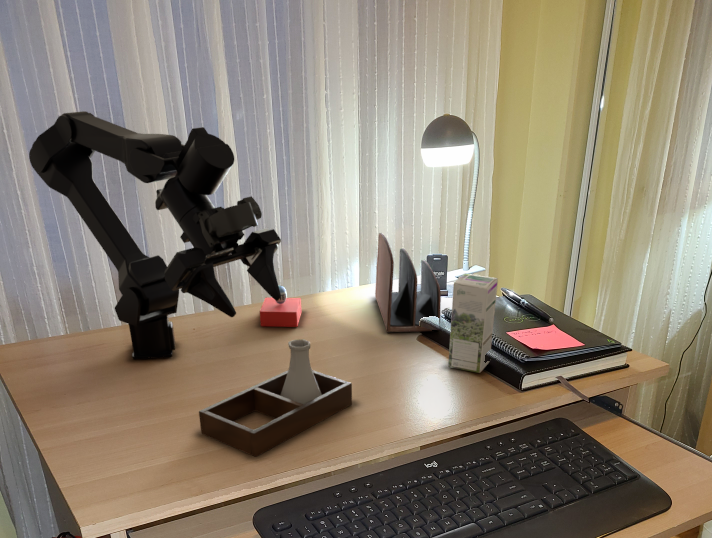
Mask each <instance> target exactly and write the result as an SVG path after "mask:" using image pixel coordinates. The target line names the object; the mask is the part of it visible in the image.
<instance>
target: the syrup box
mask: <svg viewBox="0 0 712 538" xmlns="http://www.w3.org/2000/svg"><path fill="white" fill-rule="evenodd" d="M498 283H499V278H497V277H492V276H485V275H479V274H473V273H472V274H471V273H463V274H461V275H460V276H459V277H458V278H457V279H455V281H454V282H453V288H452V301H451V303H452V304H451V320H450V333H449V334H450V335H449V350H448V364H447V365H448V366H447V367H448V368H451V369H457V370H462V371H466V372H472V373H477V374H481V372H482V371H484V369H485V368H486V367H487V365H489V363H490V361H487V362H486V363H485V362H484V361H485V355H486V353H487V352H488V351H489V350H490V349H491V350H492V341H493V330H494V320H495V311H496V302H497V293H498Z"/></svg>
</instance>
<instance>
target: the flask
mask: <svg viewBox="0 0 712 538" xmlns="http://www.w3.org/2000/svg"><path fill="white" fill-rule="evenodd" d="M287 343H288V344H287V345H288V348H289V350H290V359H289V368H288V369H287V370H288V373H287V377H286V380H285V383H284V386H283V389H282V392H281V395H280V396H282V397H285V398H288V399H290V400H293V401H296V402H299V403H301V404H306V403H308V402H309V401H311V400H313V399H315V398H317V397H319V396H321V395H322V393H321V391H320V389H319V386H318V384H317V382H316V379H315V376H314V374H313V371H312V370H313V368H312V366H311V361H310V349H311V341H309V340H307V339H304V338H303V339H301V338H300V339H299V338H298V339H292V340H290V341H289V340H288V342H287Z"/></svg>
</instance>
